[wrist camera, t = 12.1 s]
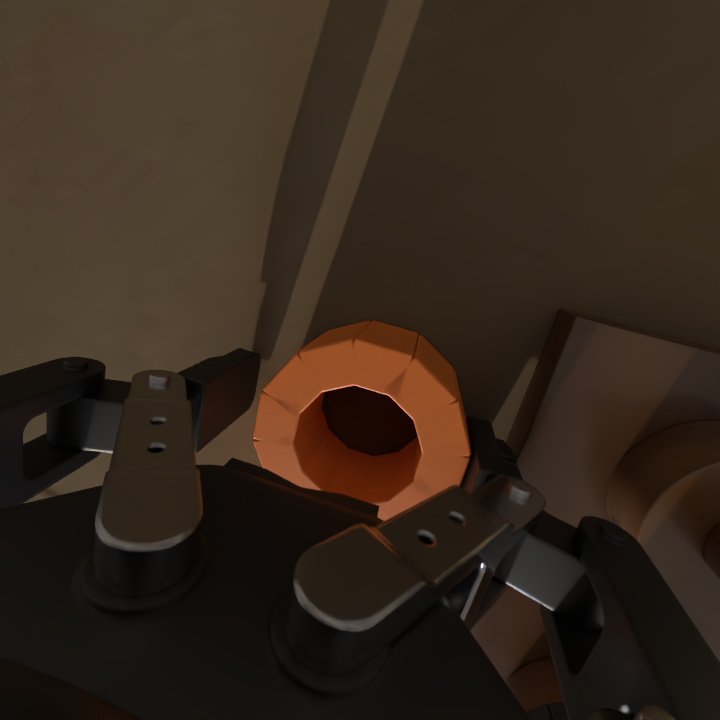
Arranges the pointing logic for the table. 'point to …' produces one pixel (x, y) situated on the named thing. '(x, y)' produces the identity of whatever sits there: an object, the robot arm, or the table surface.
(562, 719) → the black tape
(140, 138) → the table surface
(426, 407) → the orange tape
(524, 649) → the tape rack
